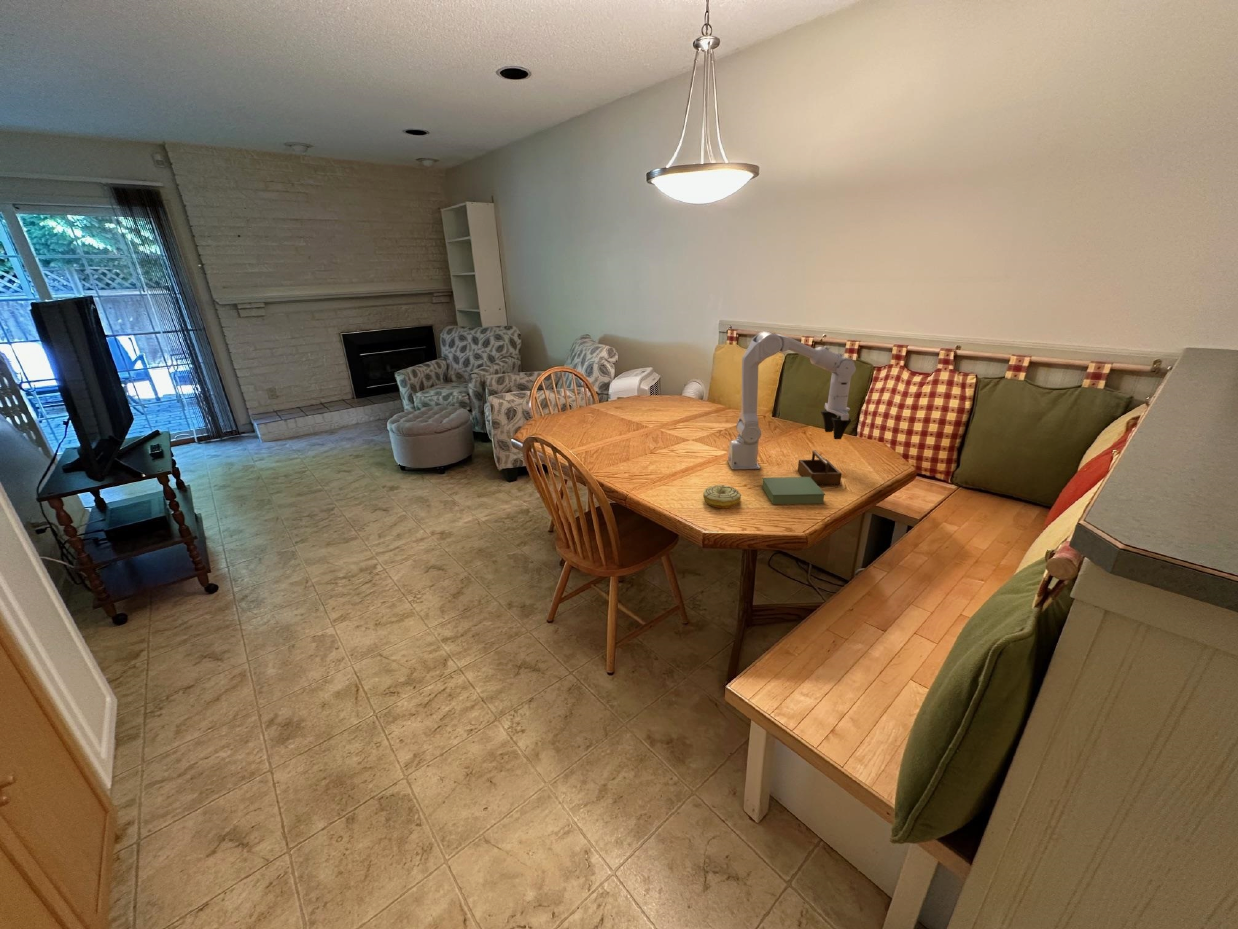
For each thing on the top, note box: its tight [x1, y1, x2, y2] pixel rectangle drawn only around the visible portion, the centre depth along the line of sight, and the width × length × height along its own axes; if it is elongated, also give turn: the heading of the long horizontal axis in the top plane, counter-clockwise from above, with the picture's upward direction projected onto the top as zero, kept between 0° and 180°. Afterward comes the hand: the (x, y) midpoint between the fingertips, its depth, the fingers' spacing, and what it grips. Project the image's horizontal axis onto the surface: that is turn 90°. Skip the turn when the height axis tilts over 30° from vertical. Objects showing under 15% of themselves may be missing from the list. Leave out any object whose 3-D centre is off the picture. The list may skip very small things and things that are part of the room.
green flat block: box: [761, 476, 826, 505], centre depth 140 cm, size 14×12×3 cm
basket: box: [797, 449, 843, 487], centre depth 150 cm, size 9×12×7 cm
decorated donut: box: [702, 484, 742, 509], centre depth 136 cm, size 10×11×4 cm
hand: (832, 435), depth 158 cm, fingers open, 7 cm apart
